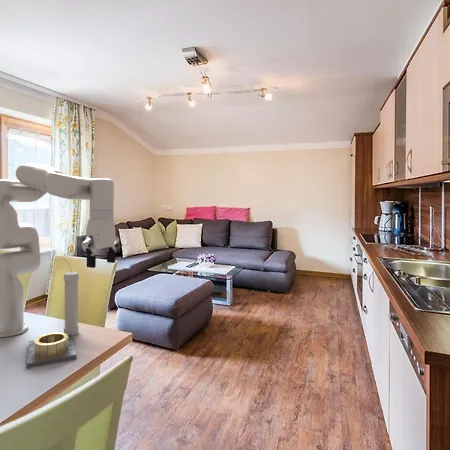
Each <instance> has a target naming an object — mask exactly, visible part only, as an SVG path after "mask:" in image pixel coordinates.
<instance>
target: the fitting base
mask: <svg viewBox="0 0 450 450" xmlns="http://www.w3.org/2000/svg"><path fill="white" fill-rule="evenodd" d="M27 349H28V350H27V360H26V368H27V369H30V368H36V367H40V366H44V365H45V366H46V365H49V364H50V365H51V364H55V363H60V362H66V361H70V360H76V359H77V353H76V348H75V343H74V339H73V335H72V334H70V335H67V334H65V333H64V332H58V331H57V332H50V333H45V334H42V335H39V336H37V338H35V339H34V340H28V347H27Z"/></svg>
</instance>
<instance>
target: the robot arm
mask: <svg viewBox="0 0 450 450" xmlns="http://www.w3.org/2000/svg"><path fill="white" fill-rule="evenodd" d="M15 178H16V179H9V178H0V250H8V249H17V248H19V249H20V250H15V251H8V252H2V253H0V338H9V337H14V336H17V335H21V334H22V333H25V332H27V330H28V329H29V325H28V324H27V323H25V322H24V318H25V317H24V285H23V283H22V281H21V280H20V278H19V277H18V276H20V275H23V274H28V273H32V272H33V273H34V271H37V270H38V268H40V266H41V252H40V251H41V250H40V239H39V233H38V231H37V229H36V227H34V225H32V224H30V223H19V221H18V213H17V211H16V209H15V207H14V206H13V205H12V204H11V202H12V203H13V202H14V203H33V202H37V201H38V200H40V199H41V198H42V197H44V196H45V195H47V194H49V195H50V196H54V197H58V198H61V199H62V198H63V199H67V200H84V201H86V200H87V201H89V219H88V220H87V224H86V228H85V229H86V230H85V239H84V241H81V243H80V245H81V248H82V251H83V253H84V255H85V256H86V267H87V268H92V269H95V268H96V267H97V265H96V263H97V261H96V257H97V256H96V255H95V254H96V253H97V251H98V250H103V249H107V251H106V262H107V263H110V264H112V263H113V264H115V263H116V252H117V248H118V246H119V242H120V238H119V237H118V236H116V226H115V225H116V224H115V219H114V214H115V213H114V210H115V209H114V207H115V206H114V200H115V198H114V197H115V194H114V193H115V183H114V181H113V180H112V179H110V178H101V177H100V178H98V177H96V178H89V177H82V176H81V177H80V176H72V175H66V174H63V173H62V172H61V171H60V170H58V169H57V168H55V167H53V166H50V165H46V164H37V163H22V164H21V165H19V166H18V167H17V168H16V170H15Z"/></svg>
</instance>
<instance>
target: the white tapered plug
mask: <svg viewBox="0 0 450 450" xmlns="http://www.w3.org/2000/svg"><path fill="white" fill-rule="evenodd" d="M63 259H64V260H65V261H66V263H67V264H68V266H69V268H70V270H72V268H71V265H70V263H69V262H68V260H66V259H65V258H63ZM79 280H80V275H79V272H78V271H67V272H65V273H63V281H64V327H63V333H65V334H67V335H70V334H72V336H74V335H77V334H78V333H79V328H80V325H79V319H78V318H79V316H78V315H79V310H78V309H79V299H78V298H79V291H78V290H79Z"/></svg>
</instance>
